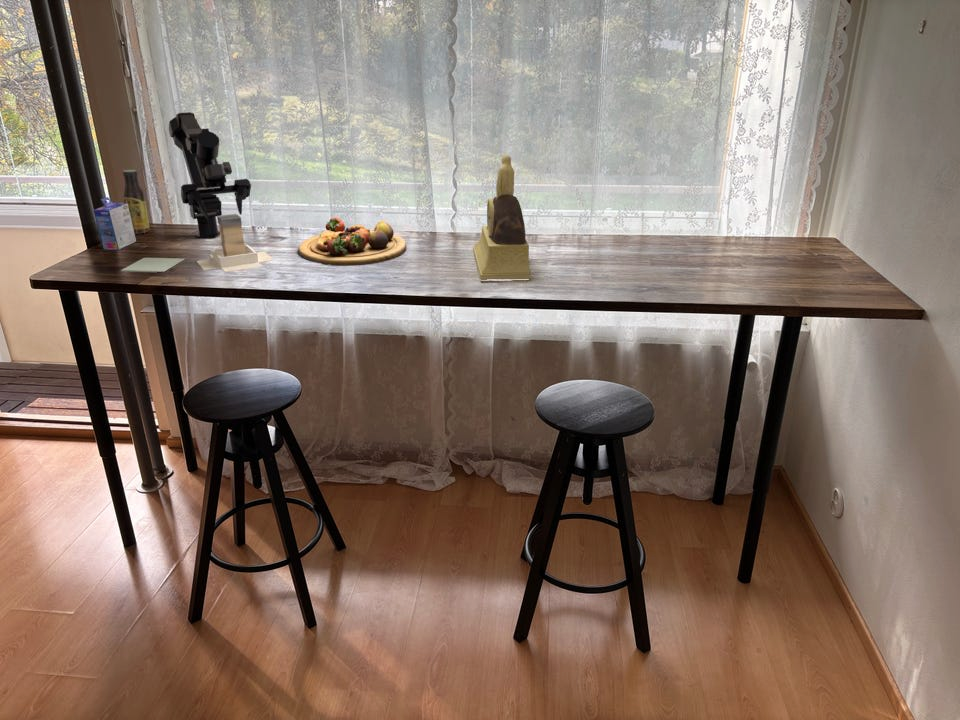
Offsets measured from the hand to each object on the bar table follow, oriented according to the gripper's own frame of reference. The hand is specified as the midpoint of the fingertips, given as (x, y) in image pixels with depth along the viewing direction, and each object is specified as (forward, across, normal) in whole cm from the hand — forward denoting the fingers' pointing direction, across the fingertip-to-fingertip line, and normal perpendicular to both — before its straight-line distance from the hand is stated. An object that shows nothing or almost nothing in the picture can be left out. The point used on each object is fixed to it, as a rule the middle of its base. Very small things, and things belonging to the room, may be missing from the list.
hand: (224, 215), depth 199 cm
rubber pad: (+7, -20, +10) cm, 24 cm away
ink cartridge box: (-13, -26, +30) cm, 42 cm away
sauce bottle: (-23, -18, +40) cm, 49 cm away
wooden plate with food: (+17, +33, +1) cm, 37 cm away
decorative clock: (+43, +62, -25) cm, 79 cm away
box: (+12, 0, +4) cm, 13 cm away
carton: (+12, 0, +5) cm, 13 cm away
